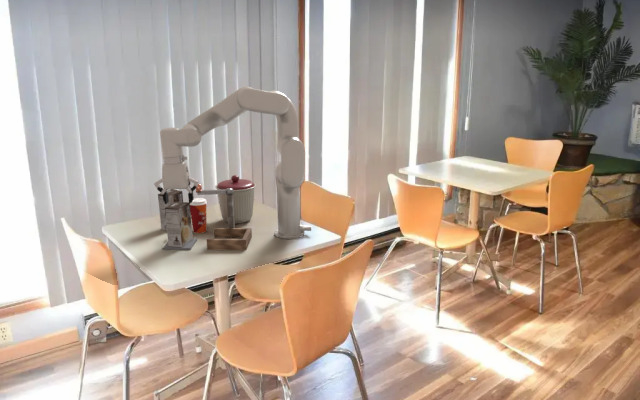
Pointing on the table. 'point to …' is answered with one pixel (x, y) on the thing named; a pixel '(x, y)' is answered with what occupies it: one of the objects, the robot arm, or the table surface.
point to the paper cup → (198, 215)
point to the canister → (237, 198)
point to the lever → (213, 191)
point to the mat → (186, 247)
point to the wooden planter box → (230, 233)
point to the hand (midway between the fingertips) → (178, 202)
